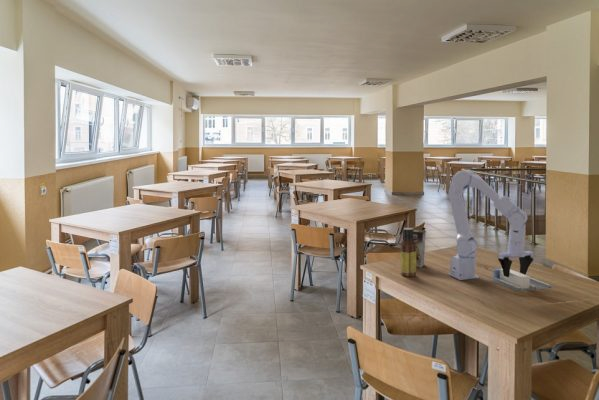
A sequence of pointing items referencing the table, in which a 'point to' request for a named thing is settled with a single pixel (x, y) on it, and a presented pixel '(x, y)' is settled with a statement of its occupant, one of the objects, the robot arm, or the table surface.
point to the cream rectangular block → (516, 279)
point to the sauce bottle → (408, 254)
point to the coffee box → (419, 246)
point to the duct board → (533, 286)
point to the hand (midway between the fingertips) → (514, 275)
